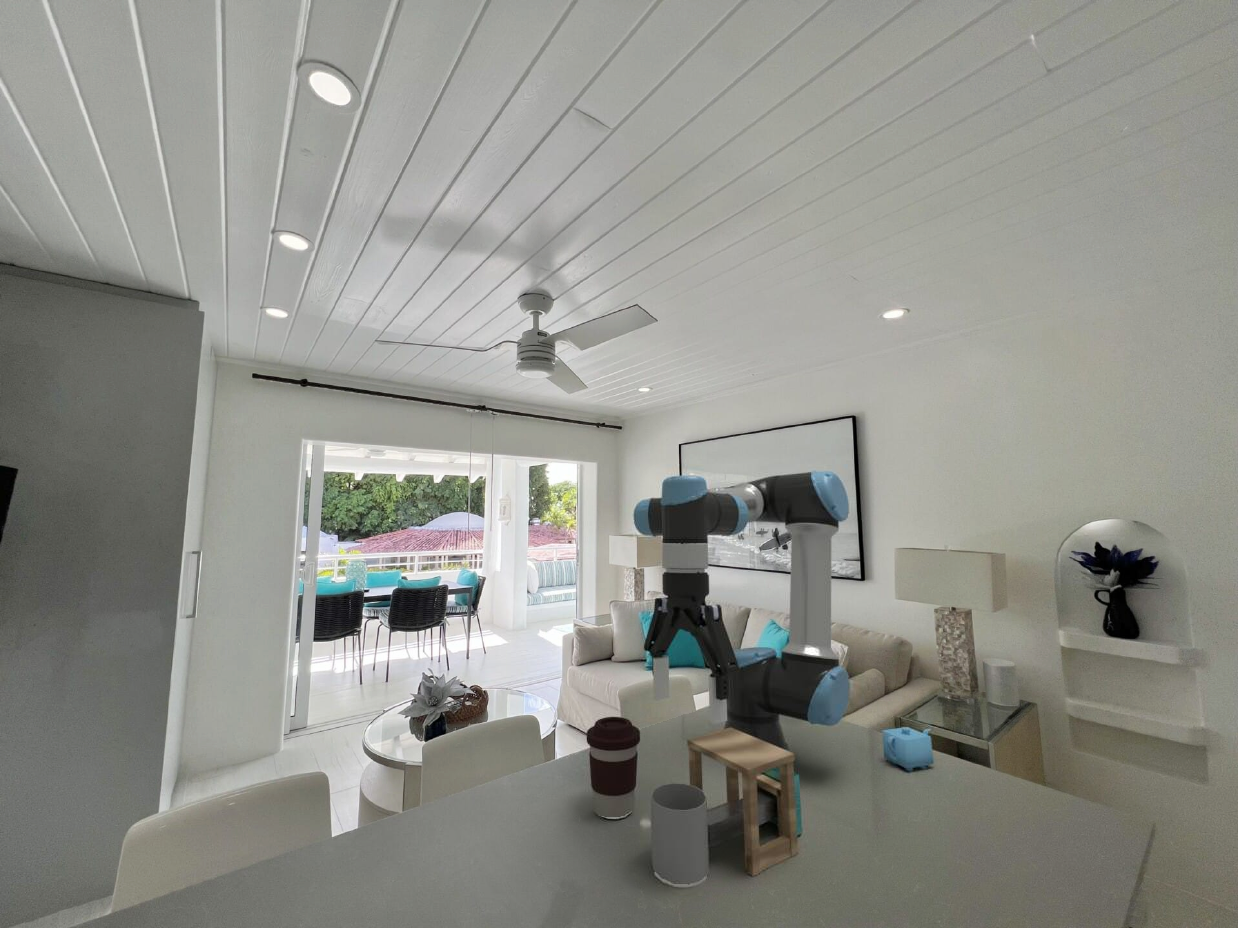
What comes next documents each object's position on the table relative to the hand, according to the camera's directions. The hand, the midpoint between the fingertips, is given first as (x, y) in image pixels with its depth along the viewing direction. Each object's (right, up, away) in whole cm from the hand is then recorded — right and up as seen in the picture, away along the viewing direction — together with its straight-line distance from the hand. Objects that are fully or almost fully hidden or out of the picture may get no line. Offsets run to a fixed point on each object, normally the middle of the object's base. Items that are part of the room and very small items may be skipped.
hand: (687, 709), depth 79 cm
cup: (-2, -22, -4) cm, 23 cm away
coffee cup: (-12, -25, +13) cm, 30 cm away
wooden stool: (+10, -23, +3) cm, 25 cm away
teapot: (+53, -27, +31) cm, 67 cm away
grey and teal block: (+10, -23, +3) cm, 25 cm away
